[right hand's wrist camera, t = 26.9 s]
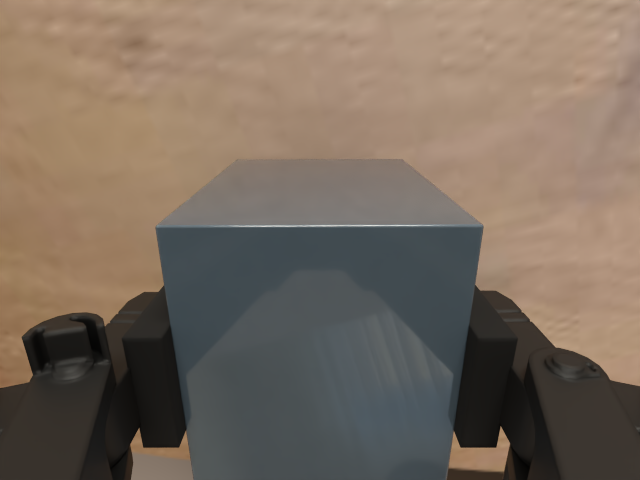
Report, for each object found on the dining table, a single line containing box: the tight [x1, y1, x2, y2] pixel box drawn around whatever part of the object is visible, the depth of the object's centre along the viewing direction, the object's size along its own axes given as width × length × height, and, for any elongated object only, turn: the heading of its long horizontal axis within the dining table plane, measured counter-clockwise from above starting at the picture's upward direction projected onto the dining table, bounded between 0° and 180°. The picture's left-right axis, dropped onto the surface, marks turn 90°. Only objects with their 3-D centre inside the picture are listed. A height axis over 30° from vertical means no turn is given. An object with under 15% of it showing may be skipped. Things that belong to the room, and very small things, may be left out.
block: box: [156, 159, 483, 480], centre depth 12 cm, size 7×6×8 cm
